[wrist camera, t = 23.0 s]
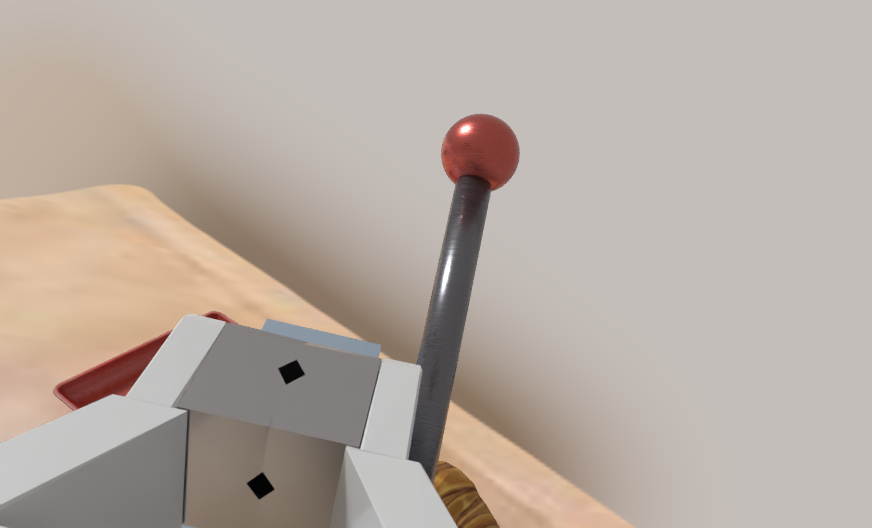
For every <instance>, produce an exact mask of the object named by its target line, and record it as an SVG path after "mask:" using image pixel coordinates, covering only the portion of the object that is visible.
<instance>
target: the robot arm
mask: <svg viewBox="0 0 872 528" xmlns="http://www.w3.org/2000/svg"><path fill="white" fill-rule="evenodd" d="M381 360H382V359H380V358H376V357H371V356H367V355H362V354H358V353H353V352H349V351H345V350H340V349H336V348H331V347H327V346H322V345H318V344H313V343H309V342H306V341H302V340H298V339H294V338H290V337H286V336H282V335H278V334H274V333H270V332H266V331H262V330H258V329H254V328H250V327H246V326H242V325H238V324H234V323H227V322H225V321H220V320H216V319H212V318H208V317H204V316H200V315H196V314H192V313H190V314H188V315H187V316H185V317H183V318H182V319H181V320H180V321H179V323H178V324H177V325H176V327H175V328H174V330H173V331H172V332H171V334H170V335H169V336H168V338H167V339H166V341H165V342H164V343H163V345H162V346H161V348H160V349H159V350H158V352H157V353H156V355H155V356H154V357H153V359H152V360H151V362H150V363H149V364H148V366H147V367H146V369H145V370H144V371H143V373H142V374H141V376H140V377H139V378H138V380H137V381H136V383H135V384H134V385H133V387H132V388H131V390H130V391H129V392H128V394H127V395H126V396H125V397H124V396H119V395H114V394H112V395H110V396H107V397H105V398H103V399H101V400H98V401H96V402H94V403H91V404H89V405H87V406H85V407H82V408H80V409H78V410H75V411H73V412H71V413H69V414H66V415H64V416H62V417H59V418H57V419H55V420H53V421H50V422H48V423H46V424H44V425H41V426H39V427H37V428H34V429H32V430H30V431H28V432H25V433H23V434H21V435H18V436H16V437H14V438H12V439H9V440H7V441H5V442H2V443H0V528H182V525H186V526H191V527H197V528H458V527H457V525H456V523H455V522H454V520H453V518H452V516H451V515H450V513H449V511H448V510H447V508H446V506H445V504H444V503H443V501H442V499H441V498H440V496H439V494H438V492H437V491H436V489H435V487H434V486H433V484H432V482H431V480H430V479H429V477H428V475H427V474H426V472H425V470H424V468H423V467H422V465H421V463H419V462H415V461H410V460H408V458H409V452H410V446H411V439H412V433H413V427H414V421H415V414H416V408H417V402H418V395H419V389H420V383H421V376H422V368H421V365H416V364H411V363H406V362H401V361H396V360H391V359H386V358H383V360H382V363H381ZM380 365H381V366H380ZM379 369H380V371H379ZM378 374H379V375H378ZM377 378H378V379H377Z"/></svg>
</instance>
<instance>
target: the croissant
mask: <svg viewBox="0 0 872 528" xmlns="http://www.w3.org/2000/svg"><path fill="white" fill-rule="evenodd" d="M433 486H434V487H435V489H436V491H437V492H438V494H439V496H440V498H441V499H442V501H443V503H444V504H445V506H446V508H447V510H448V511H449V513H450V515H451V516H452V518H453V520H454V522H455V523H456V525H457V527H458V528H499V526H498V524H497V522H496V521H495V519H494V517H493V516H492V514H491V512H490V511H489V509H488V507H487V505H486V504H485V503H484V501H483V500H482V499H481V497H480V496H479V494H478V492H477V490H476V488H475V485H474V483H473V482H472V481H471V480H470V479H469V478H468V477H467V476H466V475H465V474H464V473H463V472H462V471H461V470H459V469H457V468H456V467H454V466H452V465H450V464H449V463H447V462H443V461H438V465H437V470H436V475H435V480H434V485H433Z"/></svg>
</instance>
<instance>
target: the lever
mask: <svg viewBox="0 0 872 528" xmlns="http://www.w3.org/2000/svg"><path fill="white" fill-rule="evenodd" d="M519 153H520V152H519V145H518V141H517V138H516V136H515V134H514V132H513V131H512V129H511V128H510V127H509V126H508V125H507V124H506V123H505V122H504V121H502V120H501V119H499V118H497V117H494V116H491V115H486V114H475V115H470V116H467V117H465V118H463V119H461V120H459V121H458V122H457V123H455V124H454V125H453V126H452V127H451V128H450V130H449V131H448V133H447V134H446V136H445V138H444V141H443V144H442V150H441V158H442V164H443V167H444V170H445V172H446V174H447V175H448V177H449V178H450V179H451V181H452V182H454V184H456V185H455V190H454V194H453V199H452V203H451V208H450V213H449V217H448V222H447V227H446V231H445V236H444V241H443V245H442V250H441V254H440V259H439V263H438V268H437V273H436V277H435V282H434V286H433V291H432V296H431V300H430V305H429V309H428V314H427V318H426V323H425V327H424V332H423V337H422V341H421V346H420V350H419V355H418V360H417V364H416V365H421V368H422V376H421V383H420V389H419V395H418V402H417V408H416V414H415V421H414V427H413V433H412V439H411V446H410V452H409V458H408V460H410V461H415V462H419V463H421V465H422V467H423V468H424V470H425V472H426V474H427V475H428V477H429V479H430V480H431V482H432V484H433V485H434V480H435V475H436V470H437V465H438V459H439V454H440V449H441V444H442V439H443V434H444V429H445V424H446V419H447V413H448V408H449V403H450V398H451V392H452V388H453V383H454V378H455V372H456V367H457V362H458V357H459V352H460V347H461V342H462V337H463V331H464V326H465V321H466V316H467V311H468V306H469V301H470V296H471V290H472V285H473V280H474V275H475V270H476V265H477V260H478V254H479V250H480V244H481V239H482V234H483V229H484V224H485V219H486V214H487V209H488V203H489V198H490V193H491V191H494V190H497V189H498V188H500V187H502V186H503V185H504V184H506V183H507V182H508V181H509V180H510V178H511V177H512V176H513V174H514V172H515V171H516V168H517V166H518V162H519Z"/></svg>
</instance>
